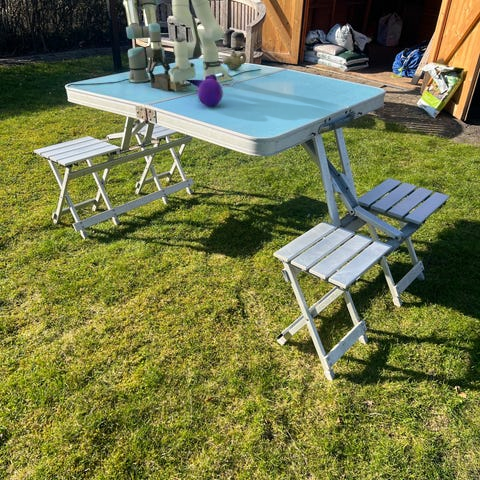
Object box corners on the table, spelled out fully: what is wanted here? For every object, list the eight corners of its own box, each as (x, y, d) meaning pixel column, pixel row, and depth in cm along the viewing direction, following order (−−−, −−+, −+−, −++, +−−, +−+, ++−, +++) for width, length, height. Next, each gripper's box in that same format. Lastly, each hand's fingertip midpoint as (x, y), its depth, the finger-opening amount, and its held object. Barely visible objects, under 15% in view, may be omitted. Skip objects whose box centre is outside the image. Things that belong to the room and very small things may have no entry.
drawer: (192, 90, 304) (191, 80, 301) (180, 92, 298) (180, 83, 295) (171, 85, 320) (170, 76, 316) (159, 87, 314) (158, 78, 310)
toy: (210, 97, 288) (222, 112, 267) (183, 92, 280) (194, 107, 260) (215, 72, 280) (229, 85, 259) (188, 67, 272) (200, 80, 252)
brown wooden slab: (181, 88, 314) (180, 76, 309) (168, 91, 307) (167, 79, 303) (164, 84, 326) (163, 73, 322) (151, 87, 319) (150, 75, 315)
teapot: (226, 72, 363) (226, 52, 355) (220, 70, 372) (219, 50, 364) (249, 69, 372) (249, 50, 365) (242, 67, 381) (241, 48, 373)
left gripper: (145, 51, 299) (149, 85, 310) (173, 47, 313) (176, 79, 324) (138, 50, 303) (143, 83, 314) (167, 46, 317) (170, 78, 328)
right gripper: (173, 68, 286) (175, 90, 293) (196, 63, 299) (197, 85, 307) (167, 67, 290) (169, 89, 297) (189, 62, 303) (191, 83, 310)
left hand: (160, 81), depth 319 cm, fingers closed on brown wooden slab, 11 cm apart
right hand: (183, 87), depth 302 cm, fingers closed
